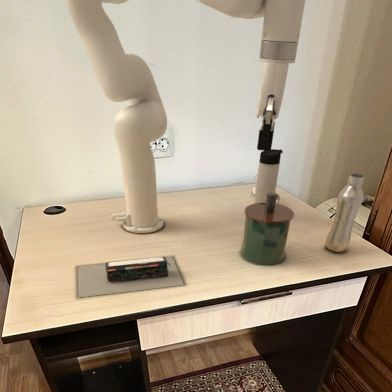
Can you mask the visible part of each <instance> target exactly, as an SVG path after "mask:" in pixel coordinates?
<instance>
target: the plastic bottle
mask: <svg viewBox="0 0 392 392" xmlns="http://www.w3.org/2000/svg"><path fill="white" fill-rule="evenodd" d="M364 180H365V175H363V174H362V173H350V174H349V177H348V180H347V181H346V183H347V185H345V186H344V188H342V190H340V192H339V193H338V195H337V200H336V207H335V213H334V217H333V222H332V224H331V227H330V229H329V232H328V233H327V236H326V239H325V246H326V248H327V250H330V251H331V252H336V253H341V252H345V251H346V250H347V249H348V247H349V245H350V243H351V237H352V236H351V235H352V230H353V226H354V223H355V220H356V217H357V214H358V213H359V211H360V208H361V207H362V204H363V201H364V191H363V188H362V186H363V184H364Z"/></svg>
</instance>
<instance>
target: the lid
mask: <svg viewBox="0 0 392 392" xmlns="http://www.w3.org/2000/svg"><path fill="white" fill-rule="evenodd" d="M277 193H278V192H276V191H275V192H267V195H266V202H265V203H255V204H254V203H252V204H249V205H247V206H246V207H245V208H244V211H243V213H244V215H245V216H247V217H248V218H250V219H251V220H254V221H257V222H261V223H267V224H280V223H285V222H288V221H291V222H292V220H293V219H294V217H295V212H294V211H293V209H291V208H290V207H288V206H286V205H283V204H280V203H279V204H276V199H277Z"/></svg>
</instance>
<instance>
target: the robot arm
mask: <svg viewBox="0 0 392 392" xmlns="http://www.w3.org/2000/svg"><path fill="white" fill-rule="evenodd" d="M196 1H197V2H199V3H200V4H203V5H205V6H207V7H209V8H211V9H214V10H216V11H218V12H219V13H222V14H224V15H226V16H229V17H231V18H235V19H244V20H246V19H247V20H253V19H260V18H263V22H262V30H261V31H262V32H261V41H260V50H259V55H258V57H259V58H258V61H259V62H263V65H262V69H261V70H262V71H261V76H260V84H259V92H258V99H257V107H256V114H255V116H256V118H257V119H260V117H261V123H260V129H259V131H258V136H257V137H258V139H257V146H256V150H258V151H270V150H271V149H272V146H273V140H274V133H275V125H276V121H275V120H277V119H278V118H279V115H280V111H281V107H282V102H283V98H284V93H285V89H286V83H287V76H288V71H289V65H290V64H296V59H297V58H296V57H297V53H298V45H299V42H300V34H301V29H302V23H303V16H304V10H305V6H306V5H305V4H306V0H196ZM127 2H129V0H64V4H65V6H66V9H67V12H68V14H69V17H70V19H71V21H72V23H73V25H74V27H75V30H76V31H77V34H78V36H79V38H80V39H81V42H82V44H83V47H84V49H85V52H86V54H87V57H88V60H89V61H90V64H91V67H92V69H93V71H94V74H95V76H96V77H97V81H98V83H99V85H100V88H101V90H102V92H103V94H104V95H105V97H106V98H107V99H108V100H109V101H111V102H113V103H124V102H128V103H129V105H128V106H125V107H122V109H121V110H119V112H117V114H116V115H115V117H114V121H113V133H114V137H115V141H116V145H117V148H118V153H119V159H120V166H121V174H122V182H123V183H122V184H123V191H124V192H123V193H124V201H125V208H124V211H122V212H119V213H118V212H113V213H112V212H111V218H112V221H116V222H117V223H122V227H123V228H124V230H126V231H128V232H130V233H133V234H134V233H135V234H149V233H153V232H154V233H155V232H157V231H159V230H160V229H162V228H163V226H164V220H163V219H162V217H160V216H159V212H158V211H159V210H158V209H159V208H158V192H157V171H156V160H155V156H154V154H153V153H154V152H153V150H152V146H151V144H152V143H153V142H156V141H158V140H160V139H161V138H162V137H163V136H164V135H165V133H166V131H167V128H168V118H167V112H166V109H165V106H164V104H163V103H164V102H163V101H162V98H161V95H160V92H159V89H158V86H157V83H156V80H155V77H154V75H153V73H152V70H151V69H150V66H149V65H148V63H147V62H146V61H145V60H144V59H143V58H142V57H141V56H139V55H137V54H134V53H126V52H125V50H124V48H123V47H124V46H123V45H122V43H121V40H120V37H119V34H118V32H117V29H116V28H115V25H114V24H113V22H112V20H111V19H110V17H109V15H108V14H107V13H106V11H105V9H104V6H103V3H104V4H113V5H120V4H124V3H127Z"/></svg>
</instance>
